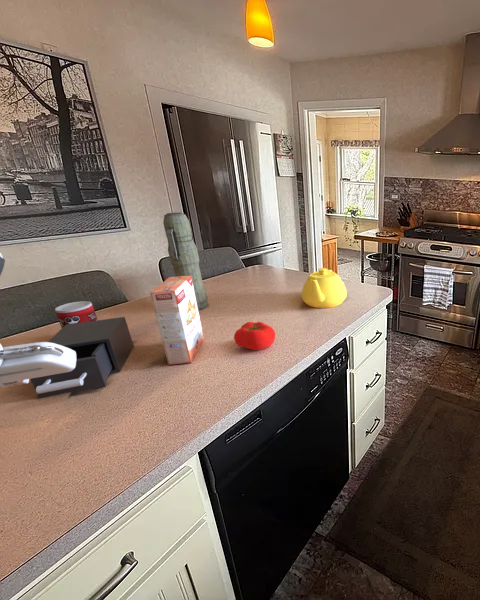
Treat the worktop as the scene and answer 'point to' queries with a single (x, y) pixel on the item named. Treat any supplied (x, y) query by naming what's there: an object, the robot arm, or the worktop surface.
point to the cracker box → (178, 319)
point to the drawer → (79, 372)
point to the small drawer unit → (99, 338)
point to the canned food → (75, 313)
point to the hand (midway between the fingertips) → (18, 380)
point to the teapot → (323, 289)
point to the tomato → (254, 336)
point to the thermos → (184, 253)
